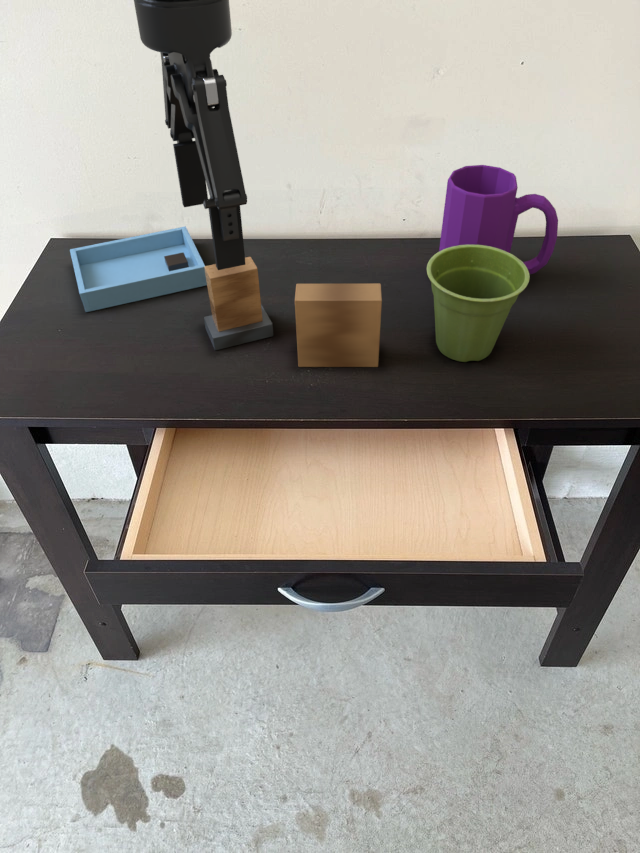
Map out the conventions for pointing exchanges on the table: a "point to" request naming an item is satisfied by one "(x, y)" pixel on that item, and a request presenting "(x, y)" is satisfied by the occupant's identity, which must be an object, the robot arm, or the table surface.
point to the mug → (492, 212)
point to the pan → (135, 268)
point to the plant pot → (473, 297)
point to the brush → (235, 306)
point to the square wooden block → (338, 324)
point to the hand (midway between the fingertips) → (212, 233)
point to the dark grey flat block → (176, 261)
